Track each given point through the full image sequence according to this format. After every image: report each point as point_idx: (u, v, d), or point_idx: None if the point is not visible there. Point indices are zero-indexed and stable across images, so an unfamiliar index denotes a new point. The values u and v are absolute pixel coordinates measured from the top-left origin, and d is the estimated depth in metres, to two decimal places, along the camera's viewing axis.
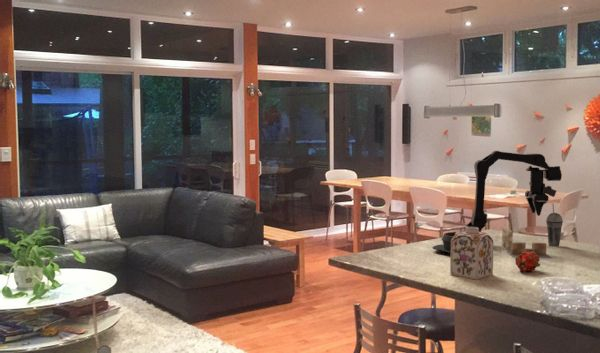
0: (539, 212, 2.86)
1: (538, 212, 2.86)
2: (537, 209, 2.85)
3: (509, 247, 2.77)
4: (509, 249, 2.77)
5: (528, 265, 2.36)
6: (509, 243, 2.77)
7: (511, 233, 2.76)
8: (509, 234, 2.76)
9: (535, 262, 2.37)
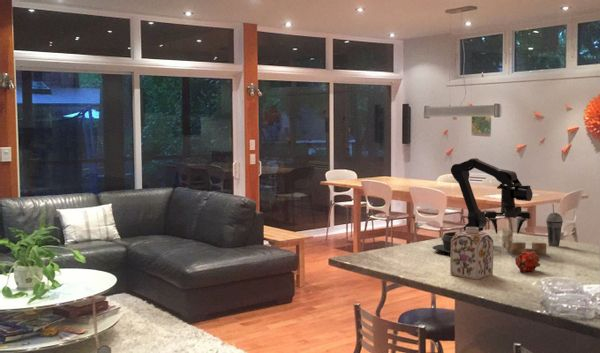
0: (495, 230, 2.83)
1: (495, 230, 2.83)
2: (494, 226, 2.84)
3: (509, 247, 2.77)
4: (509, 249, 2.77)
5: (528, 265, 2.36)
6: (509, 243, 2.77)
7: (511, 233, 2.76)
8: (509, 234, 2.76)
9: (535, 262, 2.37)
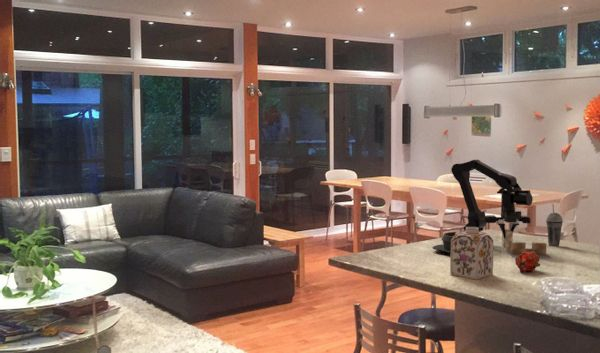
0: (503, 234, 2.82)
1: (503, 234, 2.83)
2: None
3: (509, 247, 2.77)
4: (509, 249, 2.77)
5: (528, 265, 2.36)
6: (509, 243, 2.77)
7: (511, 233, 2.76)
8: (509, 234, 2.76)
9: (535, 262, 2.37)
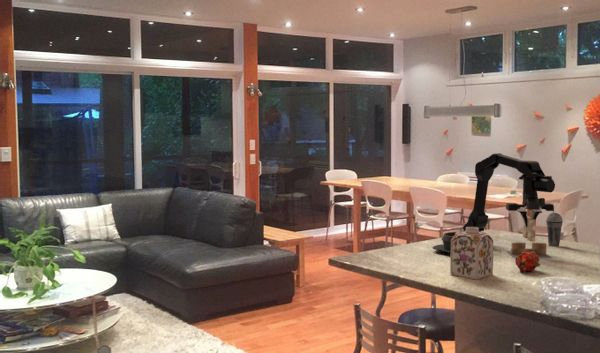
0: (525, 223, 2.67)
1: None
2: (523, 219, 2.68)
3: (532, 236, 2.62)
4: (532, 239, 2.62)
5: (528, 265, 2.36)
6: (532, 232, 2.62)
7: (534, 222, 2.61)
8: (532, 223, 2.61)
9: (535, 262, 2.37)
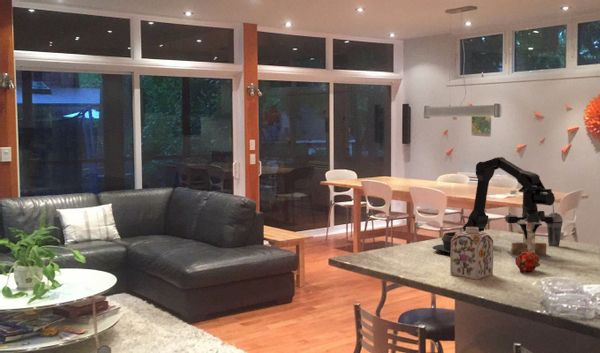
0: (524, 235, 2.68)
1: (524, 235, 2.68)
2: (523, 232, 2.69)
3: (531, 249, 2.62)
4: (531, 251, 2.62)
5: (528, 265, 2.36)
6: (531, 245, 2.62)
7: (533, 235, 2.62)
8: (531, 236, 2.62)
9: (535, 262, 2.37)
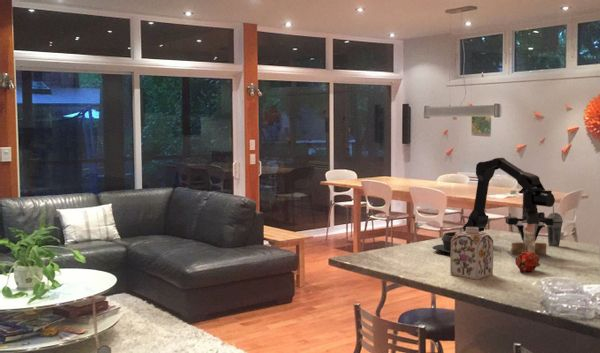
0: (521, 237, 2.68)
1: (521, 237, 2.68)
2: (520, 233, 2.69)
3: None
4: None
5: (528, 265, 2.36)
6: (531, 248, 2.62)
7: (533, 238, 2.62)
8: (531, 239, 2.62)
9: (535, 262, 2.37)
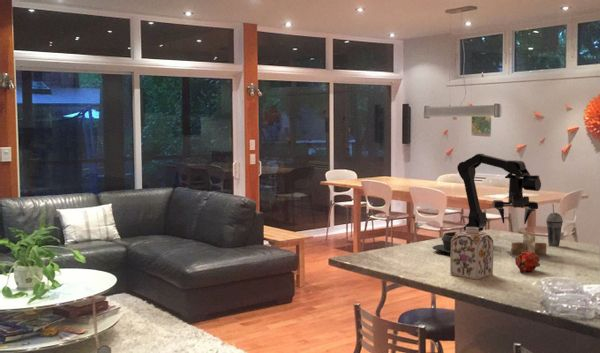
0: (502, 219, 2.80)
1: (502, 219, 2.81)
2: (501, 216, 2.81)
3: None
4: None
5: (528, 265, 2.36)
6: (531, 248, 2.62)
7: (533, 238, 2.62)
8: (531, 239, 2.62)
9: (535, 262, 2.37)
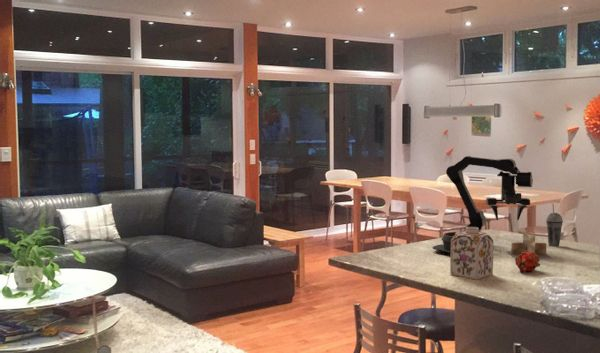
0: (495, 216, 2.87)
1: (495, 216, 2.87)
2: (494, 213, 2.88)
3: None
4: None
5: (528, 265, 2.36)
6: (531, 248, 2.62)
7: (533, 238, 2.62)
8: (531, 239, 2.62)
9: (535, 262, 2.37)
